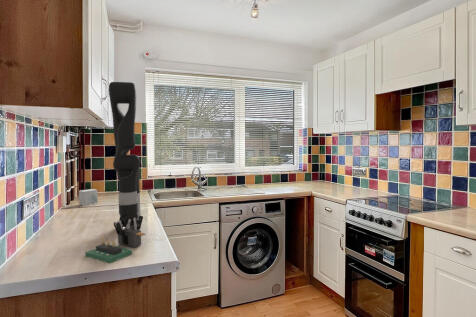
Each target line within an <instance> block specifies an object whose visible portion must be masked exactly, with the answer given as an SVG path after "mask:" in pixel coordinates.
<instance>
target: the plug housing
mask: <svg viewBox="0 0 476 317" xmlns="http://www.w3.org/2000/svg"><path fill="white" fill-rule="evenodd" d="M125 228H126V227H125ZM124 232H125V231H124ZM127 236H128V244H126V245H125V244H123V243H122V236H121V235H118V234H117V244H119V245H122V246H127V247H131V248H136V247H138V246H140V245H142V237H143V236H146V232H142V229H140V230H136V229H131V228H129V230H128V233H127Z"/></svg>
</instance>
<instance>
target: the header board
mask: <svg viewBox="0 0 476 317" xmlns="http://www.w3.org/2000/svg"><path fill="white" fill-rule="evenodd" d="M111 242H112V243H111ZM132 254H133V250H132V249H130V248H125V247H121V246H116V240H111V239H107V240H106V238H104V237H102V238H101V244H98V245H95V248H94V249H91V250H87V251H85V254H84V256H85V257H88V258H90V257H91V258H90V259H94V260H97V259H98V261H101V262H104V261H105V263H109V264H110V263H113V262H116V261H119V260H120V259H123V258H124V257H128V256H129V255H132Z"/></svg>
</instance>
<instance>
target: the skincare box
mask: <svg viewBox="0 0 476 317" xmlns="http://www.w3.org/2000/svg"><path fill="white" fill-rule="evenodd" d="M98 198H99V197H98V189H96V188H95V189H94V188H90V189H82V190H81V189H80V190H78V200H79V201H78V202H79V203H78V204H80V205H79V206H81V205H87V206H90V205H89V204H94V205H96V204H95V203H98V200H99V199H98Z"/></svg>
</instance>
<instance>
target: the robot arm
mask: <svg viewBox="0 0 476 317" xmlns="http://www.w3.org/2000/svg"><path fill="white" fill-rule="evenodd" d="M108 96H109V97H108V98H109V102H110V108H111V114H112V125H113V126H112V127H113V140H114V146H115V155H114V159H113V162H112V167H113V169H114V171H116V174H117V175H116V176H117V178H118V214H119V219H118V221H114V222H113V227H114V229H115V231H116V234H117V236H118V235H121V236H122V243H123V244H125V245H124V246H127V245H126V244H128V236H127V233H128V230H129V228H131V229H136V230H141V228H142V223H143V219H144V216H143V215H142V214H141V213H142V212H141V191H140V190H141V188H140V172H141V169H140V167H141V158H140V156H138V155H137V154H128V153H129V152H130V151H131V150H134V149H135V147H136V134H135V125H136V123H135V122H136V115H137V114H136V113H137V112H136V111H137V88H136V84H135V83H133V82H131V81H130V82H129V81H111V82H110V83H109V84H108ZM119 104H123V105H124V104H125V105H128V108H127V111H126V113H125V114H124V113H123V111H122V110H121V107H120V105H119ZM125 227H126V228H125ZM124 231H125V232H124Z"/></svg>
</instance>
